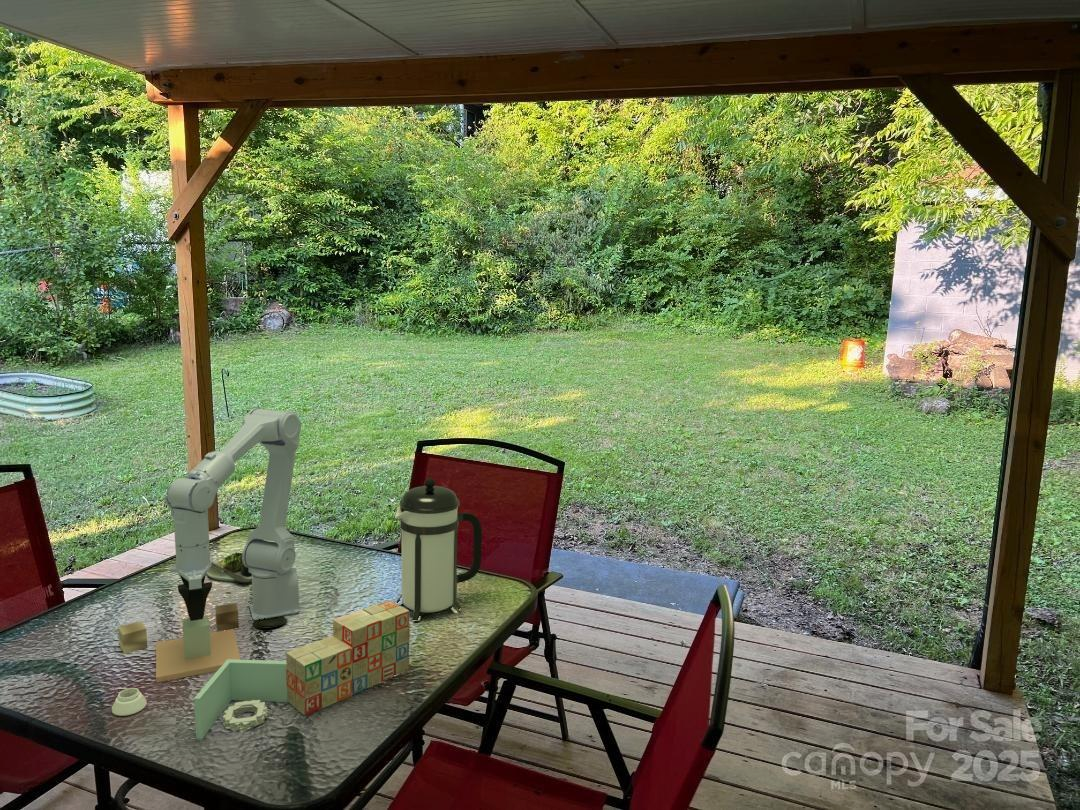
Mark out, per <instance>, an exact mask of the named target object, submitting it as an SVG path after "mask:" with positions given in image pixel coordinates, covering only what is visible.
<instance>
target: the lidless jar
mask: <svg viewBox="0 0 1080 810" xmlns="http://www.w3.org/2000/svg"><path fill="white" fill-rule="evenodd" d="M147 703H148V702H147V698H146V697H145V696H144V695H143V693H142V692H140V690H139V688H136V687H130V688H126V689H123V690H121V691H120V692H119V693H118V695H117V696H116V699H115V701H114V702H113V704H112V707H111V712H112V714H113V715H115V716H120V717H123V716H130V715H134V714H136V713H140V711H142V710H143V709H144V708H146V707H147V705H148V704H147Z"/></svg>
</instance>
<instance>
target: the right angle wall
mask: <svg viewBox="0 0 1080 810" xmlns="http://www.w3.org/2000/svg"><path fill="white" fill-rule="evenodd" d="M286 669H287V668H286V660H269V659H267V660H264V659H260V660H259V659H240V660H236V659H227V660H226V662H225V663H224V664H223V665H222V666H221V667H220V669H219V670H218V671H215V673H214V674H213V675H212V677H211V678H210V679H209V680H208V681H207V683H206V684H205V685H204V686H203V687H202V688H201V690H200V691H199V692H198V693H197V694H196V696H195V697H194V698H193V705H194V721H195V722H194V723H195V739H196V740H203V738H204V737H205V736H206V734H207V733H208V732H209V730H211V728H212V727H213V725H214V724H215V723H216V721H217V720H218V719H219V717H220V716H221V714H222V713H224V714H223V715H222V726H225V728H224V729H225V730H230V731H231V732H233V733H235V732H238V731H239V732H240V733H243V732H246V731H248V730H251V729H253V728H254V727H257V726H260V725H262V724H263V723H265V719H266V718H267V717H268V713H269V710H267V709H268V707H267V705H266V702H276V703H277V702H278V703H279V702H280V703H289V702H288V701H287V683H286ZM232 701H239V702H234V704H233V705H230V706H229V704H230V703H231V702H232ZM227 706H228V707H227ZM226 708H227V709H226ZM247 712H249V713H252V712H253V713H254V715H252V716H248V717H247V716H246V717H239V718H236V717H237V716H241V715H242V714H244V713H247Z"/></svg>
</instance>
